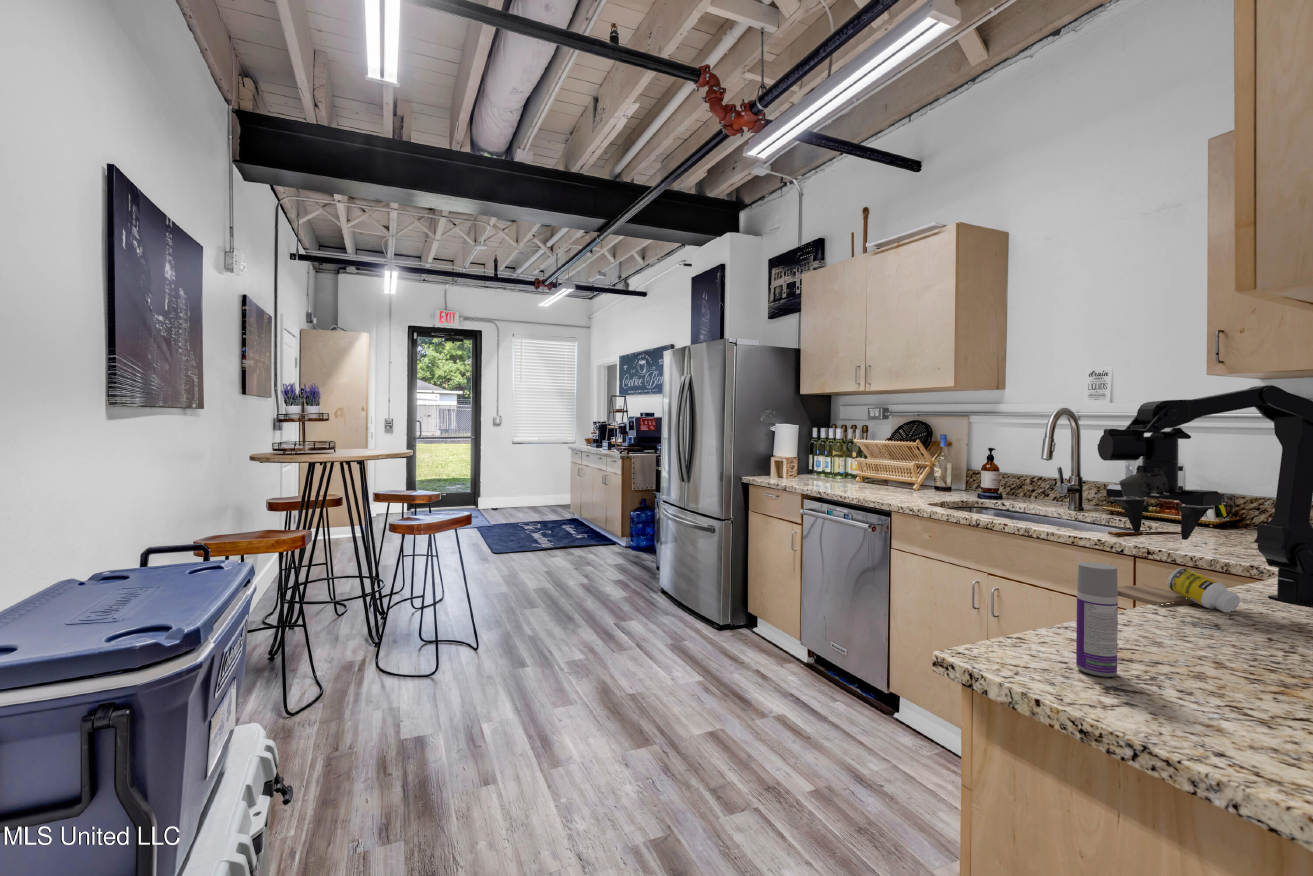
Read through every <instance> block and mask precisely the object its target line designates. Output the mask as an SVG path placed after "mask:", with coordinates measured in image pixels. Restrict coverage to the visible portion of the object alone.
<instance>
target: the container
mask: <svg viewBox="0 0 1313 876" xmlns="http://www.w3.org/2000/svg"><path fill="white" fill-rule="evenodd" d="M1076 587H1077V588H1076V590H1077V591H1076V636H1075V637H1076V641H1075V642H1076V648H1075V649H1076V650H1075V653H1076V654H1075V656H1076V657H1075V658H1076V660H1075V661H1076V662H1075V663H1076V665H1075V666H1076V668H1077V669H1078V670H1080V671H1082V672H1084V673H1087V674H1091V675H1094V676H1099V677H1106V678H1107V677H1108V678H1110V677H1115V676H1117V675H1118V632H1119V631H1118V623H1119V622H1118V621H1119V620H1118V614H1119V613H1118V610H1119V602H1118V601H1119V600H1118V599H1119V596H1118V590H1117V587H1118V567H1117V566H1115V565H1111V564H1106V563H1099V562H1089V561H1088V562H1087V561H1084V562H1083V561H1081V562H1078V565H1077V586H1076Z"/></svg>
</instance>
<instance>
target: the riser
mask: <svg viewBox="0 0 1313 876" xmlns="http://www.w3.org/2000/svg"><path fill="white" fill-rule="evenodd" d="M1117 590H1118V597H1121V598H1126V599H1128V600H1133V601H1137V602H1139V603H1143V604H1147V605H1151V606H1154V605H1159V606H1157V607H1158V608H1162V607H1163V608H1166V607H1177V606H1184V605H1193V604H1197V603H1196V602H1194V601H1192V600H1190V599H1188V598H1187V599H1186V598H1185V597H1183V596H1181V595H1179V594H1177V593H1175V592H1173V591H1172V590H1167V589H1163V588H1160V587H1159V588H1158V587H1155V586H1151V585H1147V584H1140V585H1139V584H1137V585H1124V586H1117ZM1172 602H1174V603H1172ZM1166 603H1170V604H1166ZM1161 604H1163V605H1161Z"/></svg>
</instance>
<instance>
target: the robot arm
mask: <svg viewBox="0 0 1313 876" xmlns="http://www.w3.org/2000/svg"><path fill="white" fill-rule="evenodd" d="M1250 408H1254V409H1256V410H1257V412H1259V414H1260V415H1261V416H1262V417H1264V418H1265V419H1267V420H1269V421H1271V423H1272V422H1273V429H1274V435H1275V436H1276V438H1277V441H1278V442H1279V444H1280V446H1281V457H1280V464H1279V473H1278V480H1277V488H1276V489H1277V490H1276V496H1275V497H1276V498H1275V503H1274V512H1273V513H1274V514H1273V515H1272V516H1273V517H1272V518H1271V519H1270V520H1269V522H1268V523H1266V524H1265V523H1257V526H1256V532H1257V533H1256V538H1255V539H1254V541H1253V542H1254V544H1257V549H1258V552H1259V553H1260V554H1261V555H1262V556H1263V557H1264V559H1265V562H1266V564H1267V566H1268V567H1274V568H1277V589H1276V592H1277V593H1276V594H1271V595H1270V594H1269V595H1267V598H1268V599H1271V600H1276V601H1281V602H1285V603H1289V604H1294V605H1299V606H1304V607H1309V608H1311V607H1313V525H1312V523H1311V520H1310V519H1311V512H1312V504H1313V400H1311V399H1309V398H1306V397H1304V396H1300V395H1297V394H1295V393H1291V392H1287V391H1286V390H1284V389H1283V388H1280V387H1279V386H1276V385H1272V384H1265V385H1258V386H1257V385H1254V386H1251V387H1249V388H1246V389H1245V388H1244V389H1240V390H1235V391H1229V392H1225V393H1224V392H1223V393H1218V394H1213V395H1208V396H1203V397H1198V398H1192V399H1166V400H1155V401H1146V402H1144V403H1141V404H1140V407H1138V408H1137V411H1136V415H1135V417H1134V418H1133V419H1132V420H1131V421H1130V422H1129V424H1128V425H1127V426H1126V427H1125V428H1124V429H1118V428H1104V429H1103V434H1102V435H1101V437H1100V438H1099V441H1098V443H1097V453H1098V455H1099V458H1100V459H1101V460H1102V461H1104V462H1105V461H1107V462H1111V461H1112V462H1115V461H1116V462H1117V461H1118V462H1120V461H1122V462H1127V461H1129V462H1135V461H1138V460H1140V459H1142V460H1141V465H1140V464H1139V465H1137V466H1136V472H1135V474H1131V475H1129V476H1127V477H1124V478H1122V479H1121V480H1119V481H1118V483H1113V484H1112V483H1111V484H1108V485H1107V486H1106V488H1105V497H1106V498H1111V501H1112V502H1116V503H1117V504H1118V505H1119V506H1121V508H1122V509H1123V511H1124V513H1125V514H1126V517H1127V518H1128V521H1129V523H1130V527H1131V528H1132V531H1133V532H1134V533H1140V532H1141V528H1142V523H1143V513H1144V507H1145V499H1144V498H1150V499H1158V500H1168V501H1170V500H1172V501H1178V502H1180V504H1181V505H1176V507H1177V509H1178V511H1179V512H1180V515H1181V516H1180V518H1181V519H1180V521H1181V522H1180V536H1181V540H1184V541H1187V540H1189V538H1190V537H1191V535H1192V533H1193V531H1194V530H1195V529H1196V527H1197V525H1198V524H1199V522H1200V521H1201V520H1202V518H1203V517H1204V516H1205V515H1206V513H1207V512H1208V511H1209V510H1215V506H1217V507H1218V506H1220V507H1221V506H1223V497H1222V495H1221V494H1220V492H1219V491H1217V490H1207V489H1206V490H1205V489H1184V486H1183V485H1179V472H1183V471H1184V466H1183V465H1179V440H1190V439H1191V438H1192V435H1191V434H1189V433H1187V432H1186V431H1185V430H1183V428H1182V427H1180V426H1183V425H1185V424H1189V423H1191V422H1193V421H1195V420H1197V419H1199V418H1202V417H1206V416H1212V415H1216V414H1222V413H1228V412H1233V411H1234V412H1235V411H1239V410H1244V409H1250ZM1165 429H1171V430H1169V431H1167V430H1165ZM1145 434H1150V435H1149V436H1145ZM1141 457H1142V458H1141Z"/></svg>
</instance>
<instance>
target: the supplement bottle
mask: <svg viewBox="0 0 1313 876" xmlns="http://www.w3.org/2000/svg"><path fill="white" fill-rule="evenodd" d="M1166 582H1167V584H1166V585H1167V587H1168V589H1169V591H1172V592H1175V593H1177V594H1179V595H1181V596H1183V597H1185V598H1188V599H1190V600H1192V601H1194V602H1196V603H1195V604H1198V605H1200V606H1202V607H1204V608H1206V609H1211V610H1214V608H1215V609H1217V610H1219V612H1220V611H1221V612H1223V613H1225V612H1229V613H1232V612H1231V611H1233V612H1234V611H1235V610H1236V609H1237V608H1238V607H1239V605H1240V602H1241V598H1240V595H1238V594H1236V593H1235V592H1232V591H1229V590H1228V588H1227V587H1226V585H1225V584H1222V583H1220V582H1218V581H1216V580H1214V579H1212V578H1210V577H1208V576H1205V575H1203V574H1202V573H1201V574H1200V573H1199V572H1197V571H1194V570H1192V569H1189V568H1187V567H1178V568H1176V569H1175V570H1173V572H1171V573H1170V575H1169V576H1168V578H1167V581H1166Z"/></svg>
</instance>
